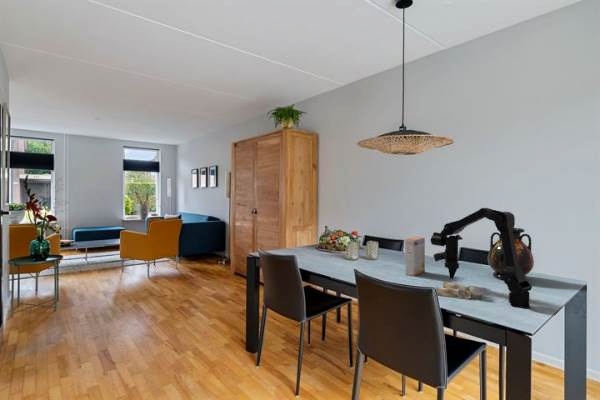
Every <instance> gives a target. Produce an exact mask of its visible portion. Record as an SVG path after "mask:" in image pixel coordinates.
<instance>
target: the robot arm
mask: <svg viewBox="0 0 600 400" xmlns="http://www.w3.org/2000/svg"><path fill="white" fill-rule="evenodd" d="M485 218H486V219H487V220H489V221H493V222H494V223H493V224H494V225H495V227H496V230H497V229H498V230H499V231H498V230H497V231H498V233H499V234H500V235H501V240H502V246H503V252H504V258H505V263H506V267H505V269H503V270H501V273H502V280H501V281H503V282H504V284H505V285H506V286H507V289H508V291H509V292H508V303H509V304H510V306H511V307H516V308H522V309H531V306H530V291H531V290H532V288H533V285H532V284H531V283H530V282H529V281H528V280H526V278H525V275H524V273H523V270H522V269H521V267H520V266H519V264H518V259H517V253H516V247H515V242H514V236H513V229H514V228H515V224H516V221H515V220H516V219H515V218H516V217H515V215H514V213H513V212H510V211H501V210H496V209H491V208H489V207H481V208H480V209H478V210H476V211H474V212H472V213H470V214H467V216H465V217H463V218H461V219H459V220H455V221H451V222H447V223H445V224H444V226H443V228H442V230H441V231H440V232H439V231H438V232H437V231H436V232H432V233H433V234H432V236H431V238H430V243H431V245H433V246H436V247H437V246H439V247H445V249H444V251H442V252H438V253H437V252H436V253H434V254H433V258H434V261H435V262H439V261H442V260H444V268H447V269H448V274H449V279H450V280H451V279H454V277H455V275H456V274H457V270H458V269H460V263H459V241H461V240H462V241H463V237H462V236H461V235H460V234H459V233H461V232H463V230H464V229H465V228H467V227H468V226H470V225H472V224H474V223H477V222H478V221H480V220H482V219H485ZM503 279H504V280H503Z"/></svg>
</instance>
